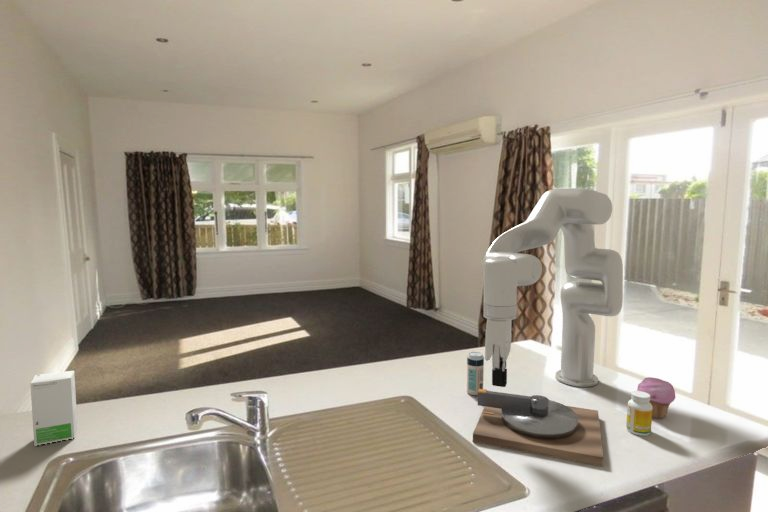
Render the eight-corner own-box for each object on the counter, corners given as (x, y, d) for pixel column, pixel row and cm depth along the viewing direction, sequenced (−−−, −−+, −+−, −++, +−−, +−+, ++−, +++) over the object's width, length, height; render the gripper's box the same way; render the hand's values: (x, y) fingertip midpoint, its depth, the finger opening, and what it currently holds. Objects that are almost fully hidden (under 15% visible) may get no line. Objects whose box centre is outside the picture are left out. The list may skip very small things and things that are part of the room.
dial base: (489, 401, 131) (489, 393, 131) (597, 417, 121) (598, 409, 121) (472, 441, 109) (472, 433, 109) (602, 466, 99) (603, 456, 99)
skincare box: (33, 447, 108) (27, 383, 106) (39, 435, 114) (33, 374, 112) (76, 439, 112) (70, 377, 110) (79, 427, 118) (74, 368, 116)
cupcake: (635, 405, 128) (637, 370, 127) (672, 412, 124) (675, 376, 123) (635, 418, 120) (638, 382, 119) (675, 426, 116) (677, 388, 115)
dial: (576, 410, 120) (577, 389, 119) (579, 444, 103) (580, 419, 103) (482, 397, 128) (483, 377, 128) (472, 427, 112) (472, 404, 111)
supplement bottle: (621, 428, 115) (623, 391, 114) (635, 424, 117) (637, 388, 116) (641, 438, 110) (643, 400, 109) (655, 433, 113) (658, 396, 111)
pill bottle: (482, 390, 139) (482, 351, 138) (484, 396, 134) (484, 357, 133) (466, 389, 140) (466, 351, 138) (467, 396, 135) (467, 356, 133)
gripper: (489, 301, 116) (488, 371, 118) (477, 317, 102) (477, 395, 105) (520, 303, 113) (519, 375, 116) (512, 320, 99) (511, 400, 102)
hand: (499, 384), depth 110 cm, fingers closed
